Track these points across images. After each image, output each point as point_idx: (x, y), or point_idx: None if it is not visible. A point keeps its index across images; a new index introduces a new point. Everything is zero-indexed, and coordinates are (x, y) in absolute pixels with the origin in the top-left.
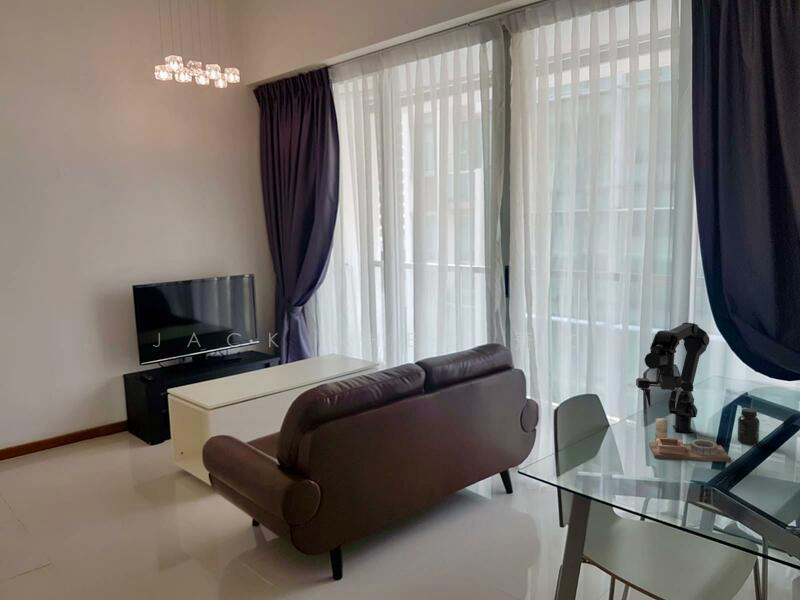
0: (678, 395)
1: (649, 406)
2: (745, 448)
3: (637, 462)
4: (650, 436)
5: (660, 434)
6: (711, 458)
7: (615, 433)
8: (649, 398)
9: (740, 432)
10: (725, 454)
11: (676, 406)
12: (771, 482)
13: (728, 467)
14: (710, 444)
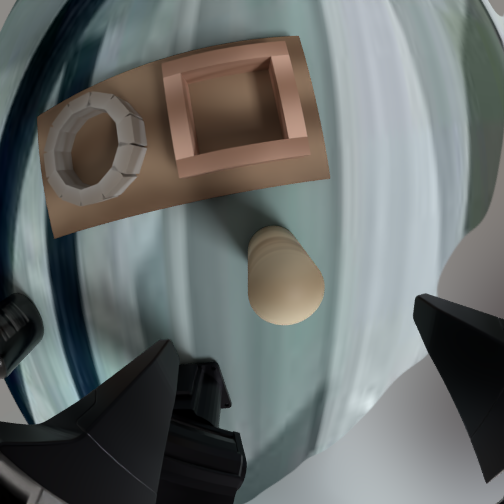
0: (96, 447)
1: (423, 295)
2: (19, 261)
3: (348, 6)
4: None
5: (282, 233)
6: (85, 90)
7: (431, 280)
8: (482, 326)
9: (15, 319)
10: (43, 146)
11: (159, 350)
12: (10, 46)
13: (57, 70)
14: (67, 178)
